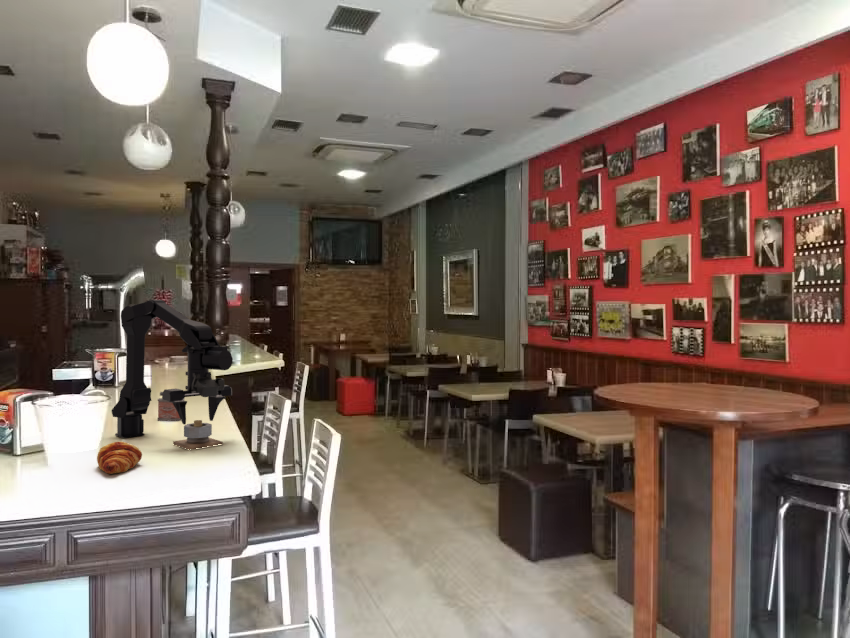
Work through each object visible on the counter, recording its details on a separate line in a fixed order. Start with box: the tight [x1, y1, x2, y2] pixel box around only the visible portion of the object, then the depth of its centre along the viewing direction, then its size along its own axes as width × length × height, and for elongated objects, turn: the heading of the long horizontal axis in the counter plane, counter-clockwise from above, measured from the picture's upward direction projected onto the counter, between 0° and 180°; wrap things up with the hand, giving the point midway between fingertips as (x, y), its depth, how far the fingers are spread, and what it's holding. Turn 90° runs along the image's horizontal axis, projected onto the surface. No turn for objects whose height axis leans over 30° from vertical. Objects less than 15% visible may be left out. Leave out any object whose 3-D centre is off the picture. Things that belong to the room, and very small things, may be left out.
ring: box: [183, 422, 213, 439], centre depth 185 cm, size 7×7×3 cm
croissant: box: [96, 441, 143, 475], centre depth 160 cm, size 21×10×8 cm, turn 18°
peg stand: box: [172, 419, 224, 451], centre depth 185 cm, size 10×10×7 cm
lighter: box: [157, 391, 182, 422], centre depth 223 cm, size 8×3×10 cm, turn 84°
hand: (197, 422), depth 185 cm, fingers open, 8 cm apart
